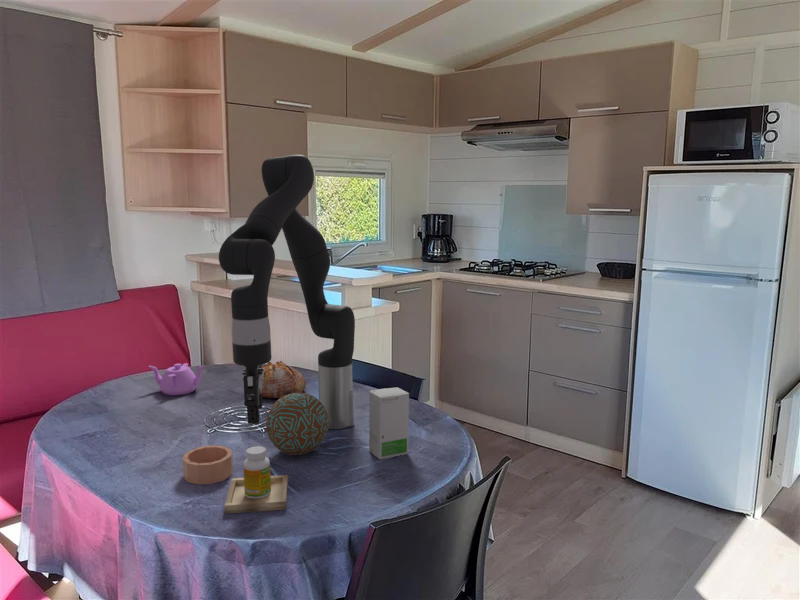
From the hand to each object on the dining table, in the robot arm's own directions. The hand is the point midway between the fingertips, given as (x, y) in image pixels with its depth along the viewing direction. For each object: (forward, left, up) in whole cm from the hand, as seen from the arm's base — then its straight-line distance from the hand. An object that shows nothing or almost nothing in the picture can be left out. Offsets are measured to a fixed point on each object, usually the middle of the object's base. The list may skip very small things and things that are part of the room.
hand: (255, 415), depth 128 cm
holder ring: (+12, -13, -18) cm, 25 cm away
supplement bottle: (0, 0, -17) cm, 17 cm away
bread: (0, -71, -19) cm, 73 cm away
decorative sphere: (-8, -22, -18) cm, 30 cm away
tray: (0, 0, -18) cm, 18 cm away
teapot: (+31, -76, -18) cm, 84 cm away
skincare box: (-30, -19, -18) cm, 40 cm away
